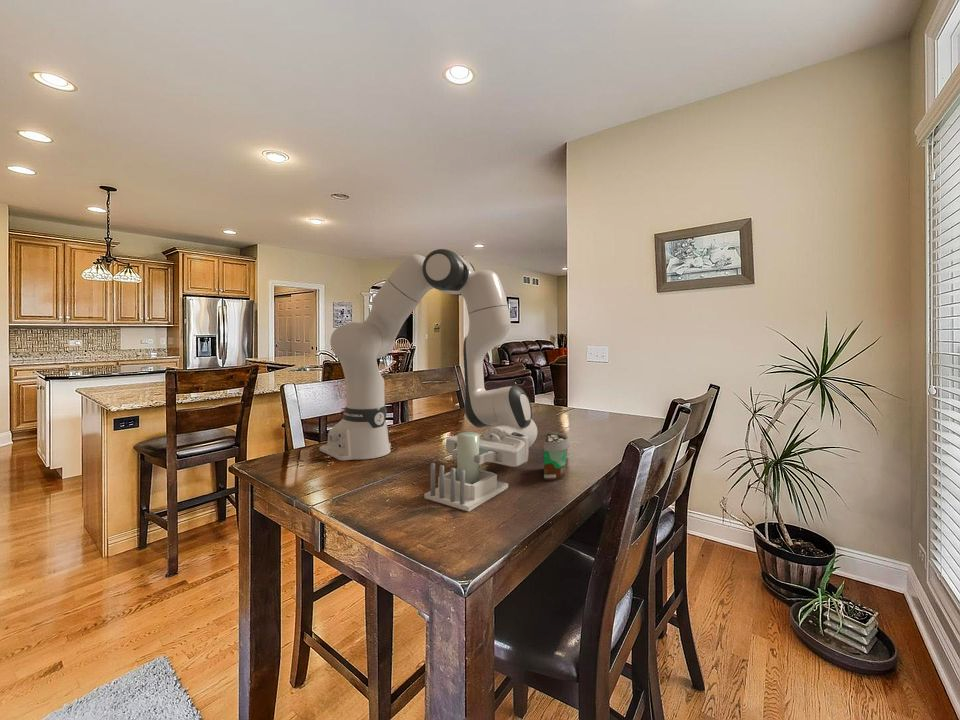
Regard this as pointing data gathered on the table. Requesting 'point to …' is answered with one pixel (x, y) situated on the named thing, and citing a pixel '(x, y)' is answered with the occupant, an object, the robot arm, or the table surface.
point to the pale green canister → (468, 456)
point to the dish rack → (463, 488)
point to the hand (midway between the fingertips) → (465, 457)
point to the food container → (555, 455)
